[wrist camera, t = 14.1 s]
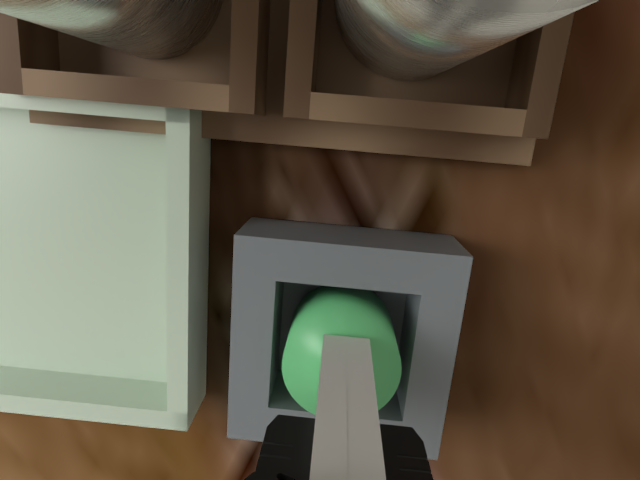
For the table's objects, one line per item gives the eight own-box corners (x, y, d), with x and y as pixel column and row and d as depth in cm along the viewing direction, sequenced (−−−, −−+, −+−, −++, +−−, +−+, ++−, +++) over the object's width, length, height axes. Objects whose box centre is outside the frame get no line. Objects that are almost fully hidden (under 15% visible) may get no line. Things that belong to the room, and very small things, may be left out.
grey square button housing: (243, 392, 20) (227, 437, 17) (251, 217, 18) (233, 234, 15) (423, 410, 20) (437, 460, 17) (452, 235, 18) (473, 256, 15)
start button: (288, 368, 18) (278, 415, 16) (295, 277, 17) (285, 307, 15) (385, 378, 18) (393, 426, 15) (398, 287, 17) (409, 319, 14)
